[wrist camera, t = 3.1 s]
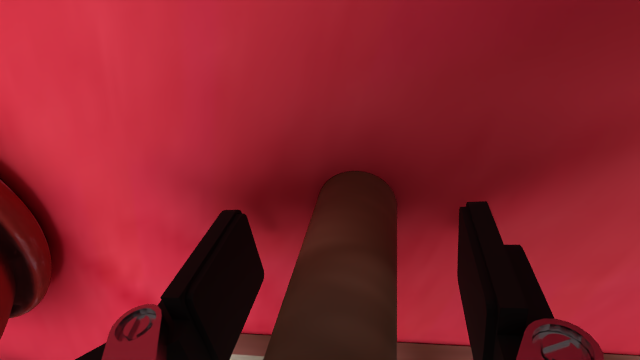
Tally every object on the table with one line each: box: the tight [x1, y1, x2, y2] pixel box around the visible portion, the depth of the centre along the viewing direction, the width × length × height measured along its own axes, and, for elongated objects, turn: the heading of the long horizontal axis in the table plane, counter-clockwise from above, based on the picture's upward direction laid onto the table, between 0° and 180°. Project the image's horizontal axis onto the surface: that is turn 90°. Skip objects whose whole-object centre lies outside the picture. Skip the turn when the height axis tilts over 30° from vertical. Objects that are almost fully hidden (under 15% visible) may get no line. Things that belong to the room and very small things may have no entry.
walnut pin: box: [263, 171, 397, 360], centre depth 10 cm, size 3×3×8 cm
